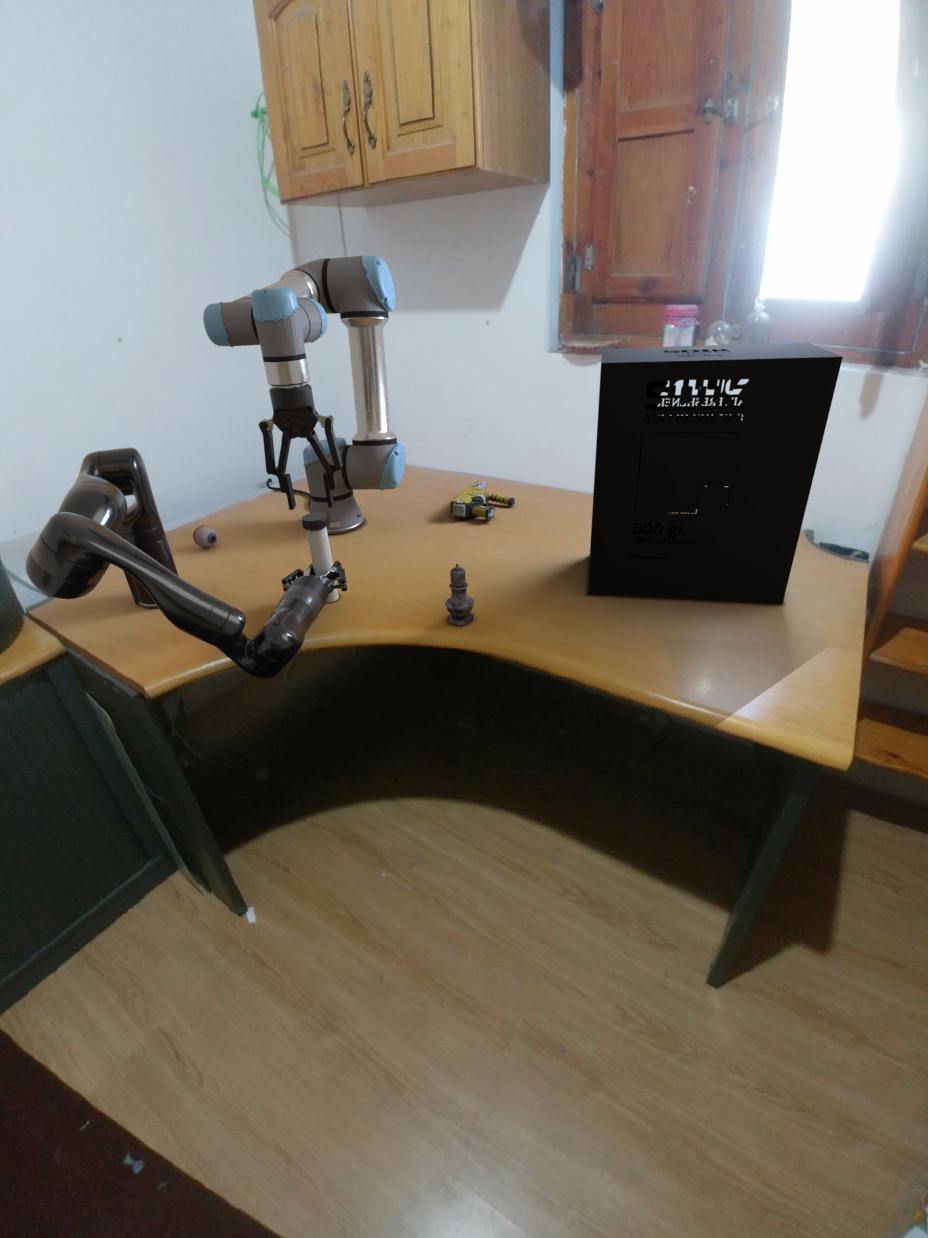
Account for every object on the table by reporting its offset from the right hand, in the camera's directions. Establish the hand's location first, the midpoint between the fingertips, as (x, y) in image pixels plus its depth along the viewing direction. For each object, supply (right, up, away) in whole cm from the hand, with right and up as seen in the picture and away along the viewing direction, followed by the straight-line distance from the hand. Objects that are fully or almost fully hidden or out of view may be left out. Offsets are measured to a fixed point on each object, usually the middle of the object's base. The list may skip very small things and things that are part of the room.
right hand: (312, 506), depth 121 cm
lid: (0, -2, +1) cm, 3 cm away
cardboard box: (+77, -14, +10) cm, 79 cm away
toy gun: (+37, +10, +55) cm, 67 cm away
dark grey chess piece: (+30, -23, 0) cm, 37 cm away
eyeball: (-37, -4, +39) cm, 54 cm away
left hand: (+1, -11, +10) cm, 15 cm away
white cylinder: (+1, -18, +11) cm, 21 cm away
